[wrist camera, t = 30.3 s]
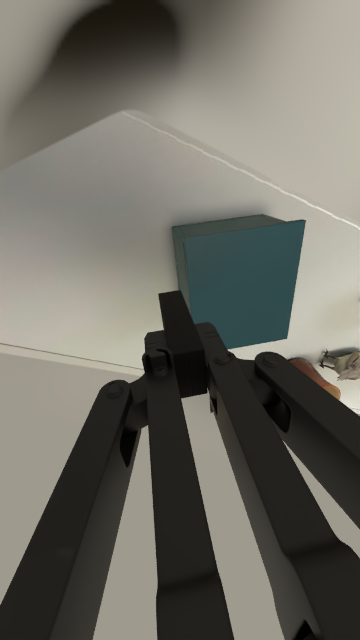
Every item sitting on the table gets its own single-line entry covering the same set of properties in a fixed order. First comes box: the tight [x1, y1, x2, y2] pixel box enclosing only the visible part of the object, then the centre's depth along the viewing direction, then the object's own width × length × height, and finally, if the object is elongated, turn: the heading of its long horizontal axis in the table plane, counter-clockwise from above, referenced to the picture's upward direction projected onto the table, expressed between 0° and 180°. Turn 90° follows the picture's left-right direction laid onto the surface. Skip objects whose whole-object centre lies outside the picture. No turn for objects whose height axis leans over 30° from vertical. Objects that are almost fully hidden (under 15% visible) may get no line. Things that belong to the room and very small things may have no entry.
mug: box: [289, 359, 340, 400], centre depth 55 cm, size 12×9×10 cm
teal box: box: [172, 214, 286, 312], centre depth 40 cm, size 17×15×10 cm
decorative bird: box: [319, 349, 360, 381], centre depth 57 cm, size 5×16×7 cm, turn 85°
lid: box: [183, 220, 306, 349], centre depth 35 cm, size 18×15×1 cm
